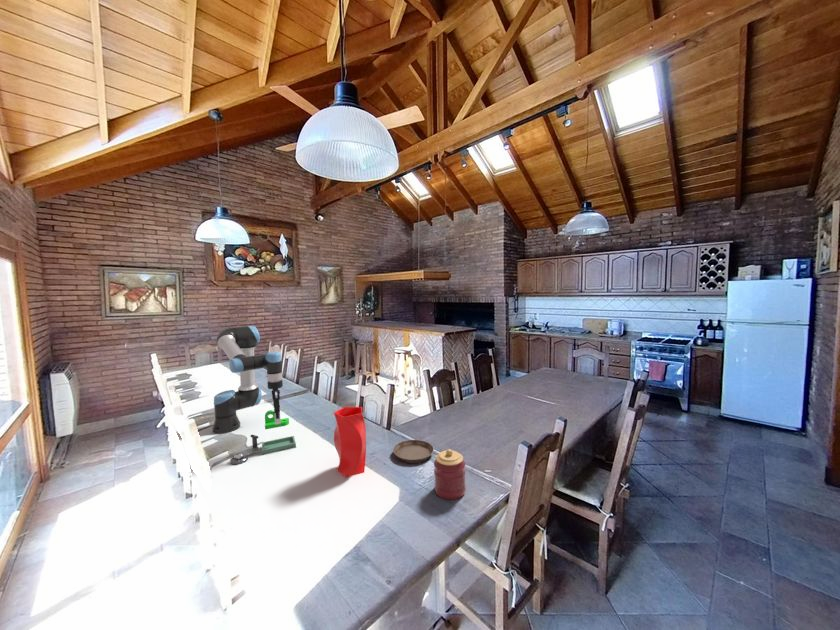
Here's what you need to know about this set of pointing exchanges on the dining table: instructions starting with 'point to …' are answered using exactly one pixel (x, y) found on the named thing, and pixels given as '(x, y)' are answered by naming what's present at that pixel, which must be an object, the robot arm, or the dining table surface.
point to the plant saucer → (413, 450)
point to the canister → (449, 474)
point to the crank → (248, 451)
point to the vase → (350, 440)
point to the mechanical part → (271, 421)
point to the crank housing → (240, 461)
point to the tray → (278, 445)
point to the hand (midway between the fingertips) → (277, 421)
